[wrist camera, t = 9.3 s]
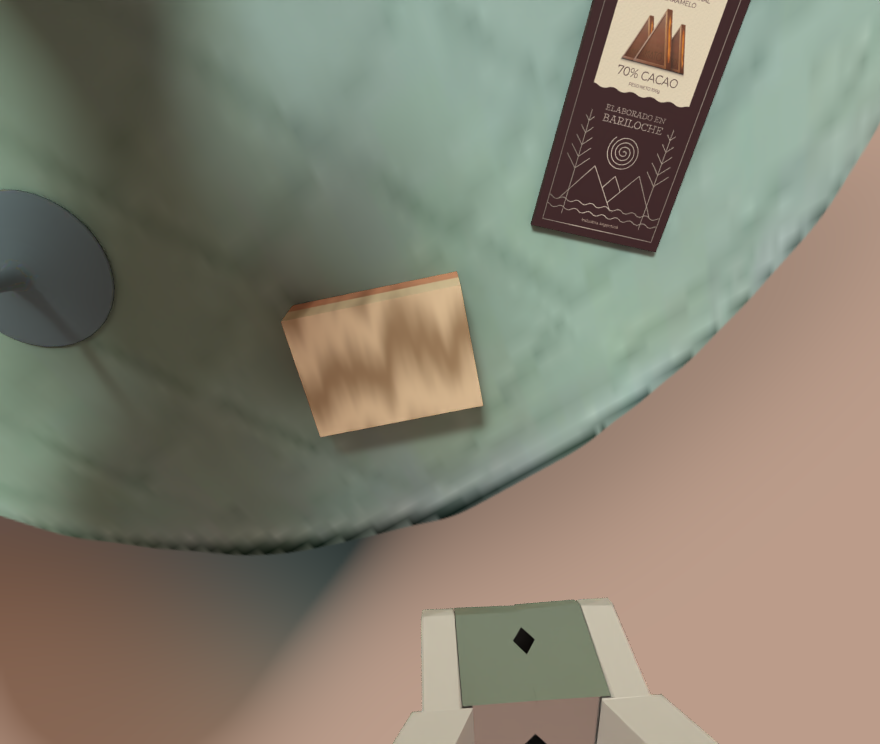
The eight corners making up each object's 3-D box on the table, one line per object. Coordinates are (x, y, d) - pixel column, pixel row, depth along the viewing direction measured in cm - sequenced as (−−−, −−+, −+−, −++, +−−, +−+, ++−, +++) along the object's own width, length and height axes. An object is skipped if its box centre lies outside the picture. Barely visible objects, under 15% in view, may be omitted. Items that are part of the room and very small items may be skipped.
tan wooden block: (456, 270, 38) (293, 303, 39) (460, 284, 34) (280, 321, 35) (477, 381, 42) (328, 410, 42) (483, 405, 38) (320, 437, 39)
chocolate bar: (532, 224, 36) (624, -107, 29) (529, 222, 37) (618, -100, 30) (655, 252, 37) (773, -62, 30) (650, 249, 38) (763, -56, 31)
